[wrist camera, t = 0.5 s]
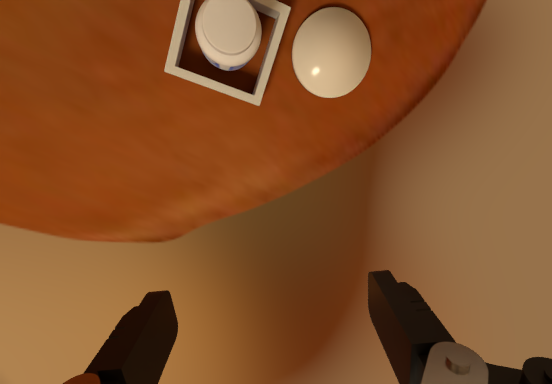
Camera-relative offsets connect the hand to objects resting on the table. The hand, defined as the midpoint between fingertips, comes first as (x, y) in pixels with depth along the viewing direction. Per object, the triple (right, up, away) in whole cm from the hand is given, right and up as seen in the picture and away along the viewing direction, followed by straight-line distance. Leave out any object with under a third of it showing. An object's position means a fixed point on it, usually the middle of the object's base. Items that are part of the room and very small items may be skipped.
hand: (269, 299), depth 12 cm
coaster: (+6, +20, +20) cm, 29 cm away
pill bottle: (-5, +20, +18) cm, 27 cm away
